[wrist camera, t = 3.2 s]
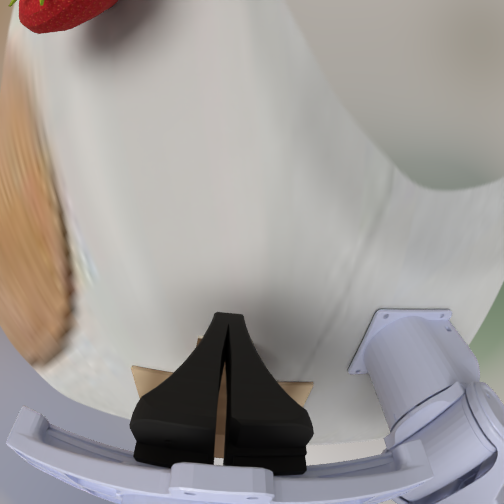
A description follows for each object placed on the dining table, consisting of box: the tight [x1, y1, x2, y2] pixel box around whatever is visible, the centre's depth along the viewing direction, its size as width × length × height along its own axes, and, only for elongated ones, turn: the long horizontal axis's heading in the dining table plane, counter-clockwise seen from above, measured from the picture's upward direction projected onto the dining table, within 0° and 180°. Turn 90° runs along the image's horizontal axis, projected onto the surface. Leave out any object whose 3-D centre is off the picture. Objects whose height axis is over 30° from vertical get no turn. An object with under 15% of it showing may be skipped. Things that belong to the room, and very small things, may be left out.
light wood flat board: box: [131, 366, 313, 407], centre depth 27 cm, size 18×9×1 cm, turn 83°
